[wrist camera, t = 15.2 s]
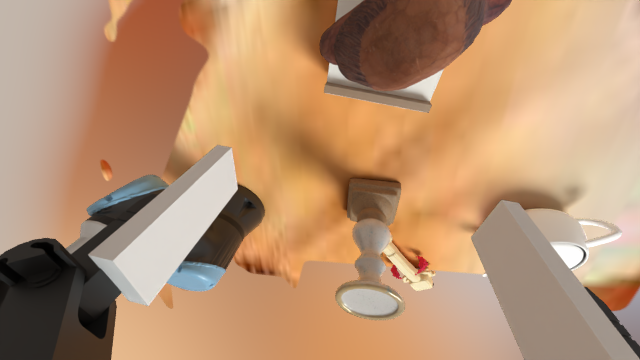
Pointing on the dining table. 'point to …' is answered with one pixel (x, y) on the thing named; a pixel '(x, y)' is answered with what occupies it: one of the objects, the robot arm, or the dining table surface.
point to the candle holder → (371, 250)
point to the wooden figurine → (404, 38)
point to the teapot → (569, 234)
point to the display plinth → (405, 98)
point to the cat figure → (409, 269)
